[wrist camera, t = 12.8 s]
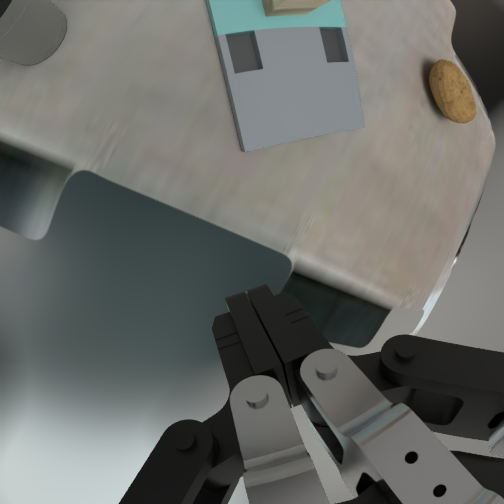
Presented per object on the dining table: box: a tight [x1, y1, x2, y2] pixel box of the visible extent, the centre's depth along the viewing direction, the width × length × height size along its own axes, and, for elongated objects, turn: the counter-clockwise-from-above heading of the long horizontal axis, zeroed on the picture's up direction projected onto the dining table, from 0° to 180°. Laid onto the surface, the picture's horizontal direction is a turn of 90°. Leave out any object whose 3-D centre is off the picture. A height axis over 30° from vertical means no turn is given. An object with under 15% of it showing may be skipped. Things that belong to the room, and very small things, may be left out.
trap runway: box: [206, 0, 365, 152], centre depth 35 cm, size 26×20×2 cm
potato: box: [429, 59, 476, 123], centre depth 41 cm, size 10×14×8 cm
